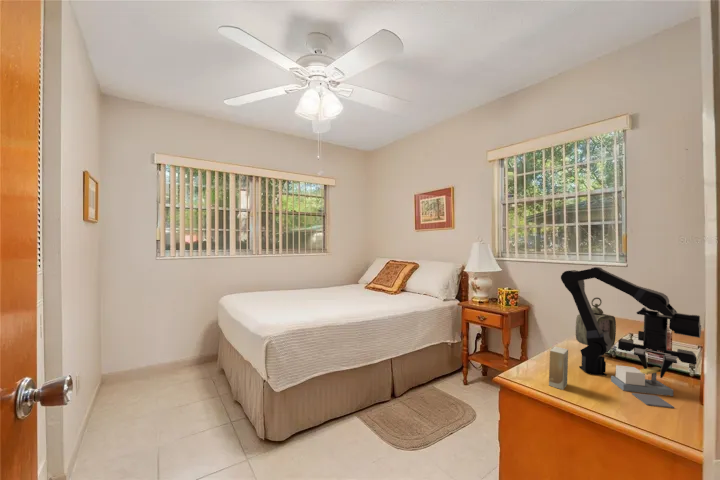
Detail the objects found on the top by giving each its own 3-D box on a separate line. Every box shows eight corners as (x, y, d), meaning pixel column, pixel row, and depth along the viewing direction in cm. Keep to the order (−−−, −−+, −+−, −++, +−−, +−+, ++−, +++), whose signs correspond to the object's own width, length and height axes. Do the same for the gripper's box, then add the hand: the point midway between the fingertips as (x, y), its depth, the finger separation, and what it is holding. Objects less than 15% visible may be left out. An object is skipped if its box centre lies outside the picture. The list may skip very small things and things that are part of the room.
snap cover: (625, 383, 103) (626, 371, 103) (615, 376, 108) (615, 365, 108) (644, 385, 102) (645, 373, 102) (633, 378, 107) (634, 367, 107)
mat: (646, 405, 93) (647, 403, 93) (631, 394, 100) (631, 392, 100) (674, 408, 92) (674, 407, 92) (656, 396, 99) (657, 395, 99)
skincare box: (553, 380, 109) (554, 345, 109) (567, 384, 106) (568, 349, 106) (548, 385, 104) (549, 349, 104) (563, 390, 101) (564, 353, 101)
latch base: (623, 390, 103) (623, 384, 103) (610, 381, 109) (611, 375, 109) (673, 396, 100) (673, 389, 100) (657, 386, 107) (657, 379, 107)
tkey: (646, 386, 101) (646, 371, 101) (640, 383, 103) (640, 369, 103) (662, 383, 104) (663, 368, 104) (656, 380, 106) (656, 366, 106)
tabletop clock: (595, 358, 131) (597, 300, 131) (573, 351, 139) (575, 296, 139) (615, 354, 137) (616, 298, 137) (592, 347, 145) (594, 294, 145)
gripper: (693, 331, 103) (691, 377, 103) (620, 320, 116) (619, 361, 116) (697, 338, 95) (695, 388, 95) (618, 325, 108) (617, 370, 108)
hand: (654, 375), depth 104 cm, fingers closed on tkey, 3 cm apart
